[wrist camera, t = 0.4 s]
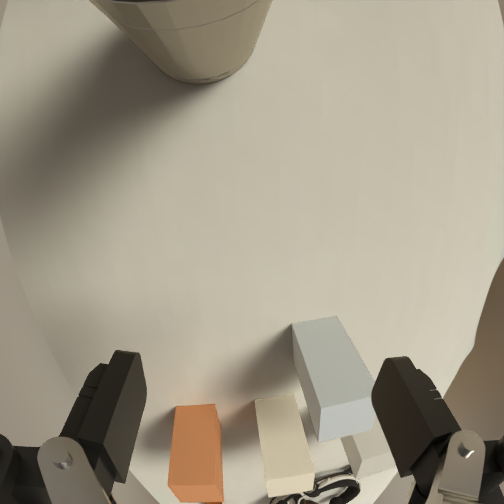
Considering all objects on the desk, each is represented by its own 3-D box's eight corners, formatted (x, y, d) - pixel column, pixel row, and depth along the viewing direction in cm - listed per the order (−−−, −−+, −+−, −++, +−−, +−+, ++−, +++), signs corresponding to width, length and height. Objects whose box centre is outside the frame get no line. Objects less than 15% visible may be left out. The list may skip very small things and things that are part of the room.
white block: (291, 323, 32) (321, 408, 21) (337, 315, 32) (381, 393, 21) (293, 359, 34) (318, 442, 23) (335, 351, 34) (372, 429, 23)
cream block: (254, 399, 36) (265, 480, 25) (294, 393, 36) (314, 472, 25) (257, 422, 38) (268, 497, 27) (294, 417, 38) (312, 490, 27)
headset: (263, 525, 39) (364, 474, 39) (253, 494, 46) (345, 444, 46) (303, 536, 44) (385, 493, 45) (293, 512, 52) (370, 470, 52)
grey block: (332, 386, 36) (362, 460, 25) (368, 377, 37) (404, 446, 25) (330, 410, 38) (355, 479, 27) (363, 401, 38) (394, 467, 27)
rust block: (175, 406, 35) (167, 485, 24) (214, 403, 36) (215, 484, 25) (185, 428, 37) (180, 502, 26) (221, 426, 37) (223, 501, 26)
